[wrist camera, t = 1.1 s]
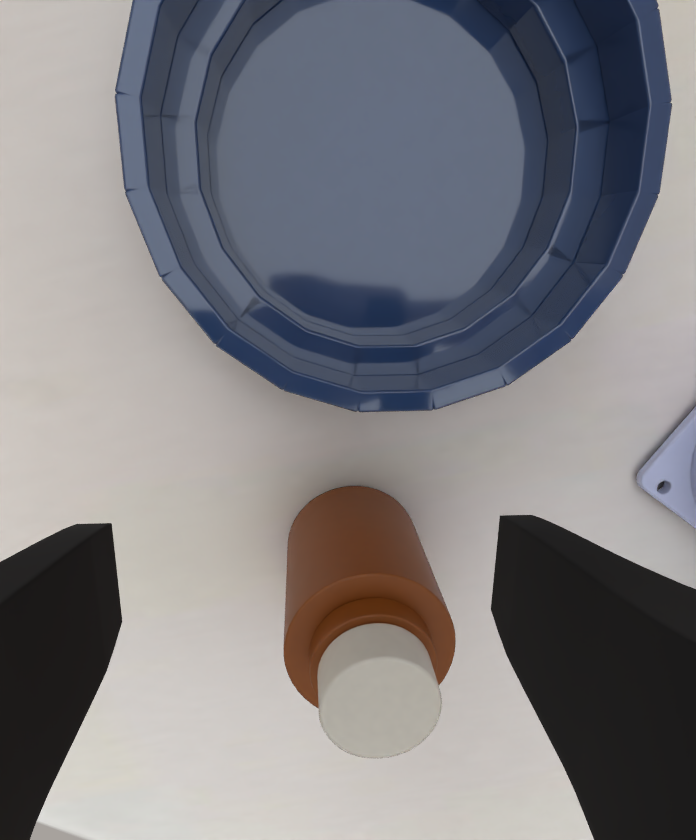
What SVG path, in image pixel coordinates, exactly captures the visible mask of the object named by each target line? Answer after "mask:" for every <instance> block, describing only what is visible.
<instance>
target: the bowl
mask: <svg viewBox="0 0 696 840" xmlns="http://www.w3.org/2000/svg"><path fill="white" fill-rule="evenodd" d="M657 8H658V3H657V1H656V0H133V2H132V7H131V12H130V17H129V22H128V27H127V32H126V37H125V42H124V47H123V52H122V57H121V62H120V68H119V73H118V78H117V83H116V88H115V91H116V93H117V94H115V103H116V113H117V122H118V132H119V142H120V152H121V161H122V171H123V181H124V189H125V191H126V192H125V194H126V197H127V199H128V202H129V204H130V206H131V209H132V211H133V214H134V216H135V218H136V221H137V223H138V226H139V228H140V231H141V233H142V235H143V238H144V240H145V243H146V245H147V247H148V250H149V252H150V255H151V257H152V260H153V262H154V264H155V267H156V269H157V272H158V274H159V276H160V277H162V281H163V282H164V283H165V284H166V286H167V287H168V288H169V289H170V290H171V292H172V293H173V294H174V295H175V297H176V298H177V299H178V300H179V301H180V303H181V304H182V305H183V306H184V308H185V309H186V310H187V311H188V313H189V314H190V315H191V316H192V317H193V319H194V320H195V321H196V322H197V324H198V325H199V326H200V327H201V328H202V330H203V331H204V332H205V333H206V335H207V336H208V337H209V338H210V340H211V341H212V342H213V343H214V344H216V346H217V347H218V348H220V349H221V350H223V351H224V352H226V353H227V354H229V355H230V356H232V357H233V358H235V359H236V360H238V361H239V362H241V363H242V364H244V365H245V366H247V367H248V368H250V369H251V370H253V371H254V372H256V373H257V374H259V375H260V376H262V377H263V378H265V379H266V380H268V381H269V382H271V383H272V384H274V385H275V386H277V387H278V388H280V389H282V390H283V389H284V391H286V392H290V393H293V394H296V395H300V396H303V397H307V398H310V399H314V400H317V401H320V402H324V403H327V404H331V405H334V406H338V407H341V408H344V409H348V410H351V411H355V412H357V411H359V412H389V411H431V410H433V409H434V410H437V409H440V408H443V407H446V406H449V405H451V404H454V403H457V402H460V401H463V400H466V399H469V398H472V397H475V396H478V395H481V394H484V393H487V392H490V391H493V390H496V389H499V388H502V387H505V386H506V385H509V384H511V383H512V382H513V381H515V380H516V379H518V378H519V377H521V376H522V375H523V374H525V373H526V372H528V371H529V370H530V369H532V368H533V367H535V366H536V365H538V364H539V363H540V362H542V361H543V360H545V359H546V358H548V357H549V356H550V355H552V354H553V353H555V352H556V351H557V350H559V349H560V348H562V347H563V346H565V345H566V344H567V343H569V342H570V341H571V339H573V338H574V337H575V335H576V334H577V333H578V332H579V330H580V329H581V328H582V327H583V326H584V324H585V323H586V322H587V321H588V319H589V318H590V317H591V316H592V314H593V313H594V312H595V311H596V309H597V308H598V307H599V306H600V304H601V303H602V302H603V301H604V299H605V298H606V297H607V296H608V294H609V293H610V292H611V291H612V290H613V288H614V287H615V286H616V285H617V283H618V282H619V281H620V280H621V278H622V277H623V275H622V274H624V273H625V272H626V270H627V267H628V265H629V263H630V260H631V258H632V256H633V253H634V251H635V249H636V247H637V244H638V242H639V240H640V237H641V235H642V233H643V230H644V228H645V226H646V223H647V221H648V219H649V216H650V214H651V212H652V210H653V207H654V205H655V203H656V200H657V198H658V195H657V194H659V192H660V187H661V179H662V172H663V165H664V158H665V151H666V144H667V137H668V130H669V123H670V115H671V108H672V103H670V102H671V100H672V99H671V91H670V84H669V77H668V70H667V62H666V55H665V48H664V41H663V33H662V26H661V19H660V12H659V9H657Z"/></svg>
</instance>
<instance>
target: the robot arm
mask: <svg viewBox="0 0 696 840" xmlns="http://www.w3.org/2000/svg"><path fill="white" fill-rule="evenodd" d="M636 480H637V484H638V485H639V486H640V487H641V488H642V489H643V490H645V491H646V492H647V493H649V494H650V495H651V496H653V497H654V498H655V499H657V500H658V501H659V502H661V503H662V504H663V505H665V506H666V507H667V508H669V509H670V510H671V511H673V512H674V513H675V514H677V515H678V516H679V517H681V518H682V519H684V520H685V521H686V522H688V523H689V524H690V525H692V526H693V527H694V528H696V407H695V408H694V409H693V410H692V411H691V412H690V413H689V414H688V416H687V417H686V418H685V419H684V420H683V421H682V422H681V424H680V425H679V426H678V427H677V428H676V429H675V430H674V432H673V433H672V434H671V435H670V436H669V437H668V438H667V440H666V441H665V442H664V443H663V444H662V445H661V446H660V448H659V449H658V450H657V451H656V452H655V453H654V454H653V456H652V457H651V458H650V459H649V460H648V461H647V462H646V464H645V465H644V466H643V467H642V468H641V469H640V471H639V472H638V474H637V478H636ZM662 481H665V484H664V486H663V487H662V488H661V489H659V490H657V487H658V485H659V483H661V482H662ZM491 611H492V614H493V617H494V620H495V623H496V626H497V629H498V632H499V635H500V638H501V641H502V643H503V646H504V649H505V652H506V654H507V657H508V659H509V661H510V663H511V665H512V667H513V669H514V671H515V673H516V675H517V677H518V679H519V681H520V683H521V685H522V687H523V689H524V691H525V693H526V695H527V697H528V698H529V700H530V702H531V704H532V706H533V708H534V710H535V712H536V714H537V716H538V718H539V720H540V722H541V724H542V725H543V727H544V729H545V731H546V733H547V735H548V737H549V739H550V741H551V743H552V745H553V747H554V749H555V751H556V753H557V754H558V756H559V758H560V760H561V762H562V764H563V766H564V768H565V771H566V773H567V775H568V777H569V779H570V781H571V784H572V786H573V788H574V790H575V792H576V795H577V797H578V800H579V802H580V805H581V807H582V810H583V812H584V815H585V818H586V820H587V823H588V825H589V828H590V830H591V833H592V835H593V838H594V840H696V589H693V588H691V587H688V586H686V585H683V584H681V583H678V582H676V581H674V580H672V579H669V578H667V577H665V576H662V575H660V574H658V573H656V572H653V571H651V570H649V569H646V568H644V567H642V566H640V565H638V564H636V563H633V562H631V561H629V560H627V559H625V558H623V557H621V556H619V555H617V554H614V553H612V552H610V551H608V550H606V549H604V548H602V547H600V546H598V545H596V544H594V543H592V542H590V541H588V540H586V539H584V538H582V537H580V536H578V535H576V534H574V533H572V532H570V531H568V530H566V529H564V528H562V527H560V526H558V525H556V524H553V523H551V522H549V521H547V520H544V519H542V518H539V517H536V516H533V515H507V516H500V521H499V532H498V542H497V552H496V563H495V573H494V583H493V594H492V604H491ZM121 623H122V615H121V606H120V597H119V588H118V579H117V569H116V560H115V551H114V542H113V533H112V524H111V523H106V524H76V525H73V526H70V527H68V528H65V529H63V530H61V531H59V532H57V533H55V534H53V535H51V536H49V537H47V538H45V539H43V540H41V541H39V542H37V543H35V544H33V545H31V546H30V547H28V548H26V549H24V550H22V551H20V552H18V553H16V554H15V555H13V556H11V557H9V558H7V559H5V560H3V561H1V562H0V840H30V837H31V834H32V832H33V829H34V826H35V824H36V821H37V819H38V816H39V814H40V812H41V809H42V807H43V805H44V802H45V800H46V798H47V795H48V793H49V791H50V789H51V787H52V785H53V782H54V780H55V778H56V776H57V774H58V772H59V770H60V768H61V766H62V764H63V762H64V760H65V758H66V755H67V753H68V751H69V749H70V747H71V745H72V743H73V741H74V739H75V737H76V735H77V733H78V731H79V728H80V726H81V724H82V722H83V720H84V718H85V716H86V714H87V712H88V710H89V708H90V705H91V703H92V701H93V699H94V697H95V695H96V693H97V691H98V688H99V686H100V684H101V682H102V680H103V678H104V675H105V673H106V671H107V668H108V665H109V662H110V659H111V656H112V653H113V650H114V647H115V644H116V640H117V637H118V633H119V630H120V627H121Z"/></svg>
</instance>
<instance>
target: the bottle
mask: <svg viewBox="0 0 696 840" xmlns="http://www.w3.org/2000/svg"><path fill="white" fill-rule="evenodd" d="M454 652H455V630H454V625H453V622H452V619H451V617H450V614H449V611H448V609H447V607H446V604H445V602H444V599H443V597H442V594H441V592H440V589H439V587H438V584H437V582H436V579H435V577H434V574H433V572H432V570H431V567H430V565H429V562H428V560H427V557H426V555H425V552H424V550H423V547H422V545H421V542H420V540H419V537H418V535H417V533H416V530H415V528H414V525H413V523H412V520H411V518H410V516H409V515H408V513H407V512H406V510H405V509H404V508H403V506H402V505H401V504H400V503H399V502H398V501H396V500H395V499H394V498H392V497H391V496H389V495H387V494H386V493H384V492H381V491H379V490H376V489H373V488H369V487H362V486H348V487H341V488H337V489H333V490H330V491H328V492H325V493H323V494H321V495H319V496H318V497H316V498H315V499H313V500H312V501H310V502H309V503H308V504H307V505H306V506H305V507H304V508H303V509H302V510H301V511H300V513H299V514H298V516H297V517H296V519H295V520H294V523H293V525H292V527H291V530H290V533H289V538H288V551H287V577H286V602H285V627H284V661H285V666H286V669H287V672H288V675H289V677H290V679H291V681H292V683H293V684H294V686H295V687H296V689H297V690H298V692H299V693H300V694H301V695H302V696H303V697H304V698H305V699H306V700H307V701H309V702H310V703H311V704H312V705H314V706H316V707H317V708H319V718H320V722H321V725H322V728H323V730H324V732H325V733H326V735H327V736H328V738H329V739H330V740H331V741H332V742H333V743H334V744H335V745H336V746H338V747H339V748H340V749H342V750H344V751H345V752H347V753H350V754H352V755H355V756H359V757H364V758H387V757H392V756H396V755H399V754H402V753H405V752H407V751H409V750H411V749H412V748H414V747H416V746H417V745H419V744H420V743H421V742H422V741H424V740H425V739H426V738H427V737H428V736H429V734H430V733H431V732H432V730H433V729H434V727H435V726H436V724H437V721H438V719H439V716H440V712H441V706H442V698H441V692H440V688H439V685H440V683H441V682H442V681H443V679H444V678H445V676H446V674H447V672H448V670H449V668H450V666H451V663H452V660H453V656H454Z"/></svg>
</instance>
